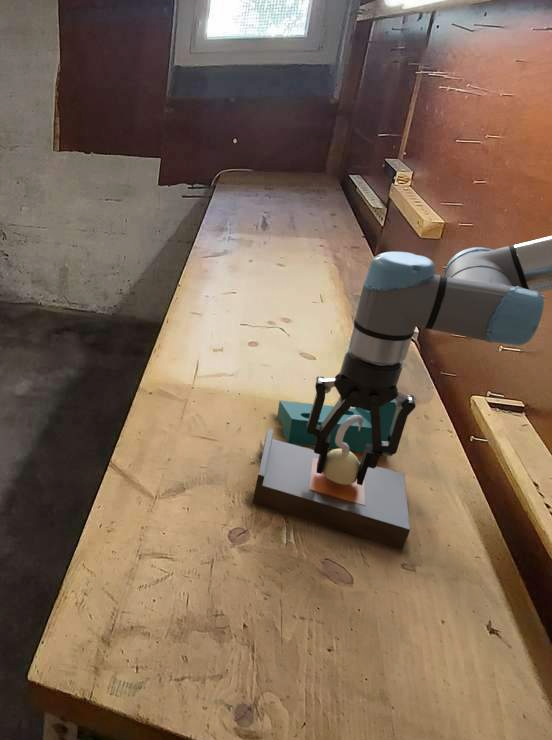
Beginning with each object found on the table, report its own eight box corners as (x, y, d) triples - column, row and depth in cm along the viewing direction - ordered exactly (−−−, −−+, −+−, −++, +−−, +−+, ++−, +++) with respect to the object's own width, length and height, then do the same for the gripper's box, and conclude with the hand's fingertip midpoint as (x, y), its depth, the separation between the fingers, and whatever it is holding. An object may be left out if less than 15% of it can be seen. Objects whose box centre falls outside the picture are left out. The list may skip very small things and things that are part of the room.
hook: (334, 459, 98) (351, 402, 93) (363, 477, 94) (382, 419, 88) (311, 471, 96) (326, 413, 90) (339, 490, 91) (357, 431, 86)
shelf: (396, 493, 98) (407, 464, 95) (402, 550, 87) (414, 520, 84) (262, 456, 108) (268, 428, 105) (251, 503, 97) (258, 474, 94)
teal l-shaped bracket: (370, 433, 115) (379, 385, 113) (392, 455, 105) (402, 403, 103) (276, 423, 119) (282, 376, 117) (288, 443, 109) (295, 392, 107)
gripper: (445, 356, 83) (401, 477, 93) (308, 331, 91) (282, 445, 101) (452, 380, 77) (404, 506, 87) (305, 352, 85) (277, 470, 96)
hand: (339, 473), depth 94 cm, fingers closed on hook, 5 cm apart
